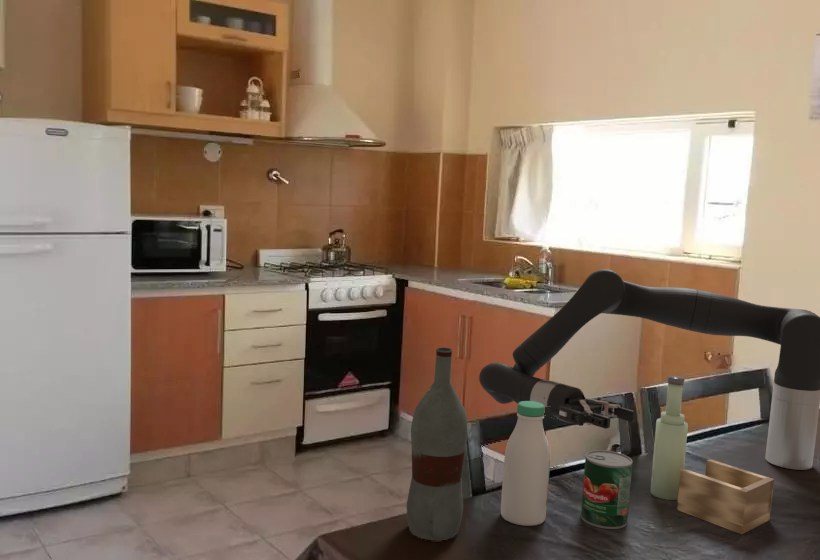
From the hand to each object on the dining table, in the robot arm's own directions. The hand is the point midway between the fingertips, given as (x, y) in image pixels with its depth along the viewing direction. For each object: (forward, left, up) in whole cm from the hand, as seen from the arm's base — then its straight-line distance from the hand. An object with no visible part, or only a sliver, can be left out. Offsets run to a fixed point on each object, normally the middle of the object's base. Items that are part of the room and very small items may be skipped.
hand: (622, 420), depth 155 cm
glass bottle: (+8, +8, -12) cm, 16 cm away
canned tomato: (+22, -6, -12) cm, 25 cm away
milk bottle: (+24, -20, -12) cm, 33 cm away
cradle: (+16, +16, -12) cm, 25 cm away
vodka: (+32, -35, -12) cm, 49 cm away
